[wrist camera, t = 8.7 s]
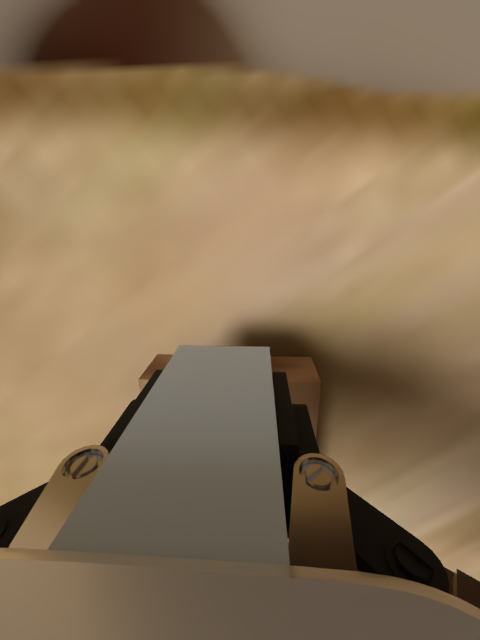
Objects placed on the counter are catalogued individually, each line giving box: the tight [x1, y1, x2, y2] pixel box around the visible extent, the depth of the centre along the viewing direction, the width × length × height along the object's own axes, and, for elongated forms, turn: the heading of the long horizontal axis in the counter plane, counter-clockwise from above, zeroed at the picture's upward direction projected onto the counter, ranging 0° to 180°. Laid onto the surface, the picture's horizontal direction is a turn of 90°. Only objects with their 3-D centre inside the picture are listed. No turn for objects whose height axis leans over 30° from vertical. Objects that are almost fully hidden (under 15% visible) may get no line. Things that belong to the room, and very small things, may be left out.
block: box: [48, 346, 290, 565], centre depth 9 cm, size 4×4×8 cm
